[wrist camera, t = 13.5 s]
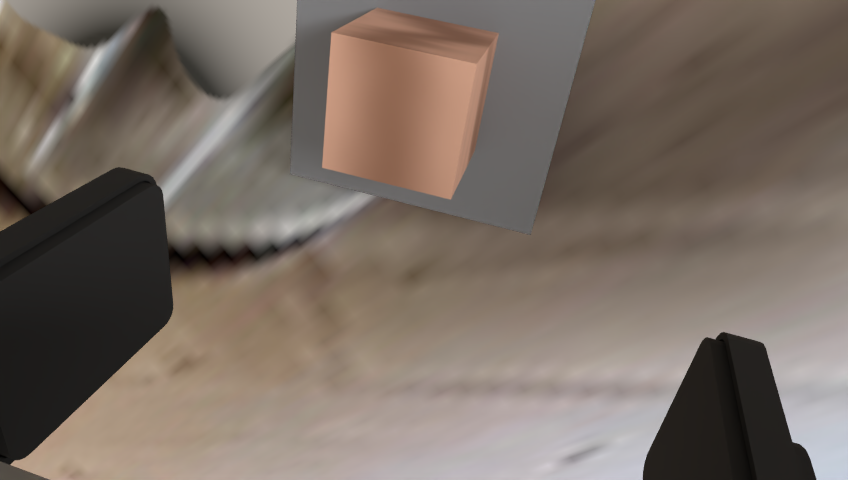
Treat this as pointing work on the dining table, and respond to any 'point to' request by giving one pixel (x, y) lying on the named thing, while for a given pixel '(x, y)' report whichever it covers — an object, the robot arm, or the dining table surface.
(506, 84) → the gray block
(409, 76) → the terracotta cube
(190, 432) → the dining table surface
